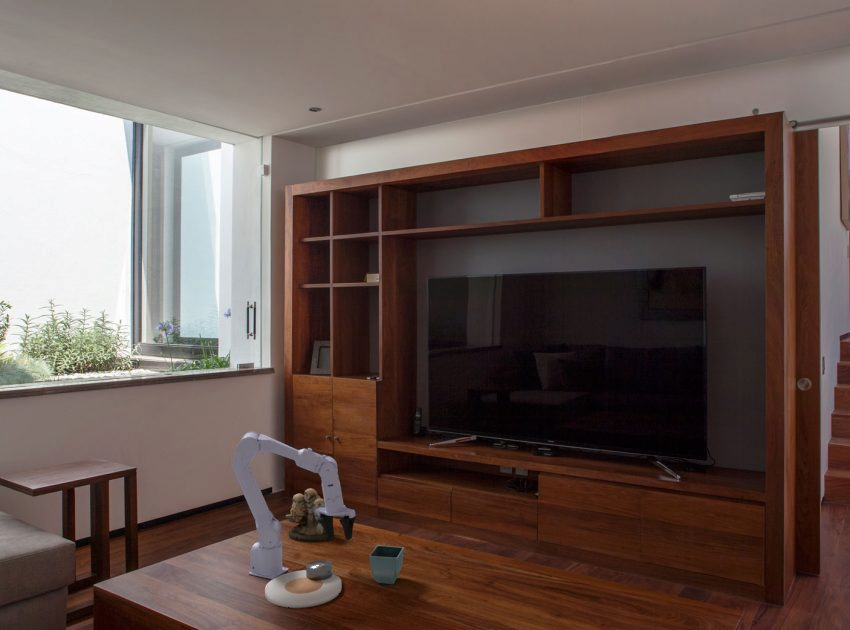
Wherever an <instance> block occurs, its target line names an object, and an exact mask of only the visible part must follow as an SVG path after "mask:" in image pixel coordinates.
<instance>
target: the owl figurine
mask: <svg viewBox="0 0 850 630" xmlns="http://www.w3.org/2000/svg"><path fill="white" fill-rule="evenodd" d="M319 508H325V502H324V498H322V497H321V496H320V495H318V492H317V490H316V489H314V488H312V487H311V488H307V489H305V490H304V493H303V494H302V493H296V494H294V495H293V497H292V505H291V509H290V510H289V511H290V513H289V514H286V515H285V519H288V521H289V522H290V523H294V524H295V523H296V524H297V525H295V526H294V527H292V528H291V530H289V531H288V537H289V539H291V540H294V541H298V542H304V543H305V542H307V543H312V542H313V543H317V542H320V543H321V542H325V541H330V540H332V539H333V538H335V535H334V536H333V537H331V538H328V536H327V534H326V532H325V530H324V528H323V526H322V525H321V524H320V522H319V521H318V518H319V517H320V516H318V515H317V509H319Z"/></svg>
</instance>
